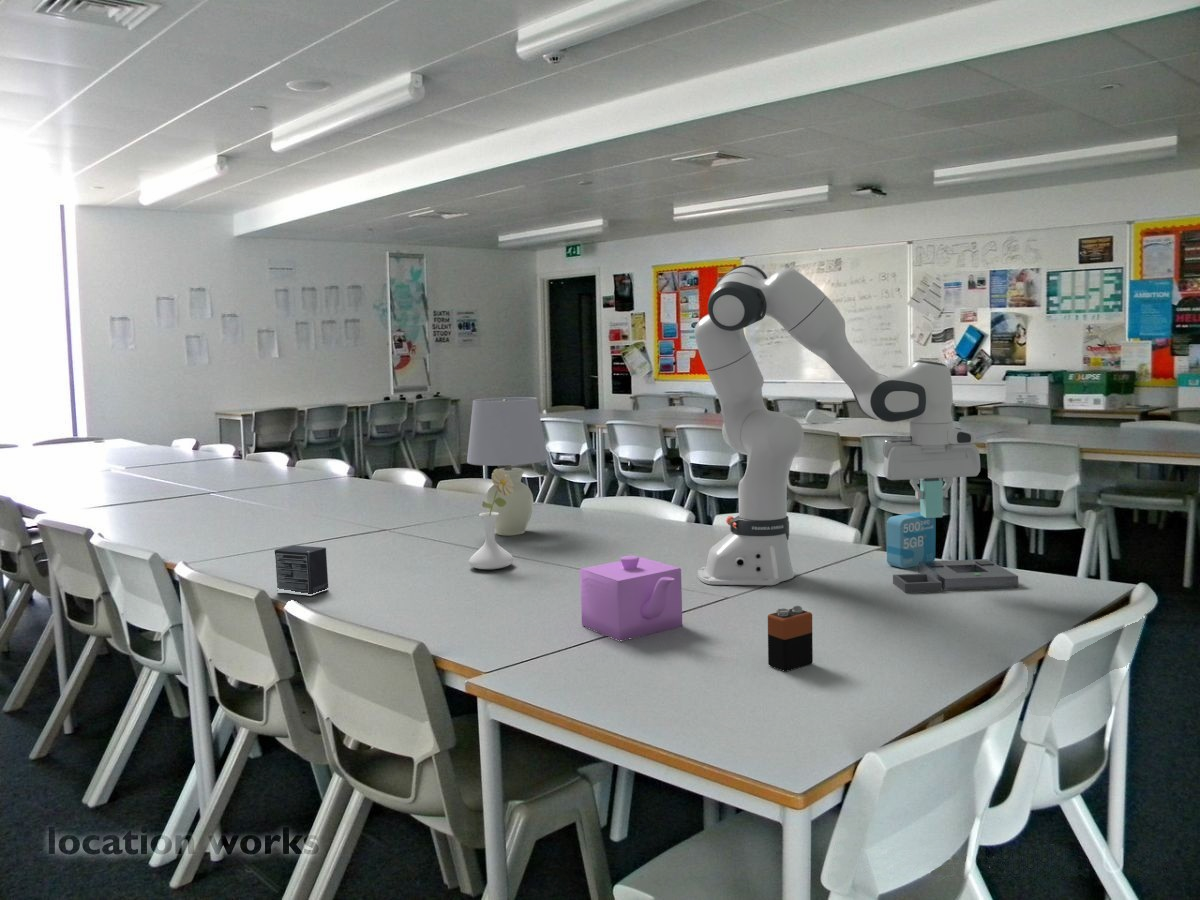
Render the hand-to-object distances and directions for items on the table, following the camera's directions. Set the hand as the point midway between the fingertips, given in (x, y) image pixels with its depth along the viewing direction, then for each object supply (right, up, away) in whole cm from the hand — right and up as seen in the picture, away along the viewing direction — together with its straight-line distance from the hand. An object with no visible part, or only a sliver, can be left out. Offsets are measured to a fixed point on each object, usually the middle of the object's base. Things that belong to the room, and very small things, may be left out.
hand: (931, 498), depth 207 cm
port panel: (+10, -19, +7) cm, 22 cm away
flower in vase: (-99, -19, +34) cm, 107 cm away
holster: (-3, -20, +1) cm, 20 cm away
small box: (-142, -23, +15) cm, 145 cm away
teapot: (-65, -25, -21) cm, 73 cm away
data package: (+3, -17, +22) cm, 28 cm away
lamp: (-99, -14, +76) cm, 126 cm away
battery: (-40, -26, -45) cm, 65 cm away
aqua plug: (0, -4, 0) cm, 4 cm away
